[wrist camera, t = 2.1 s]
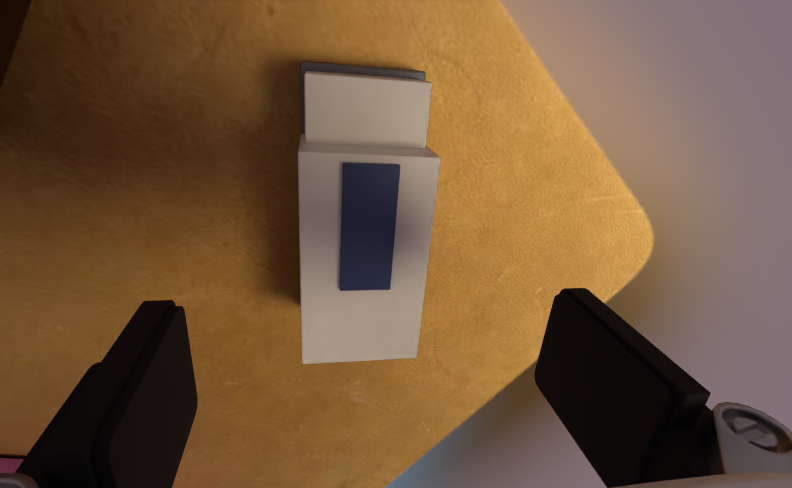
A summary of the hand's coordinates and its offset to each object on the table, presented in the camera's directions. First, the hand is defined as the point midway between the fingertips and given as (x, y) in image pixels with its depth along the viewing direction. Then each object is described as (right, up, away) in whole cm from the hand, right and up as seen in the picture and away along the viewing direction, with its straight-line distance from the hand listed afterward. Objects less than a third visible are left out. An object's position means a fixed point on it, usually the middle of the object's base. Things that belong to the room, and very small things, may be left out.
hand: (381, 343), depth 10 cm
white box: (-2, +5, +10) cm, 11 cm away
